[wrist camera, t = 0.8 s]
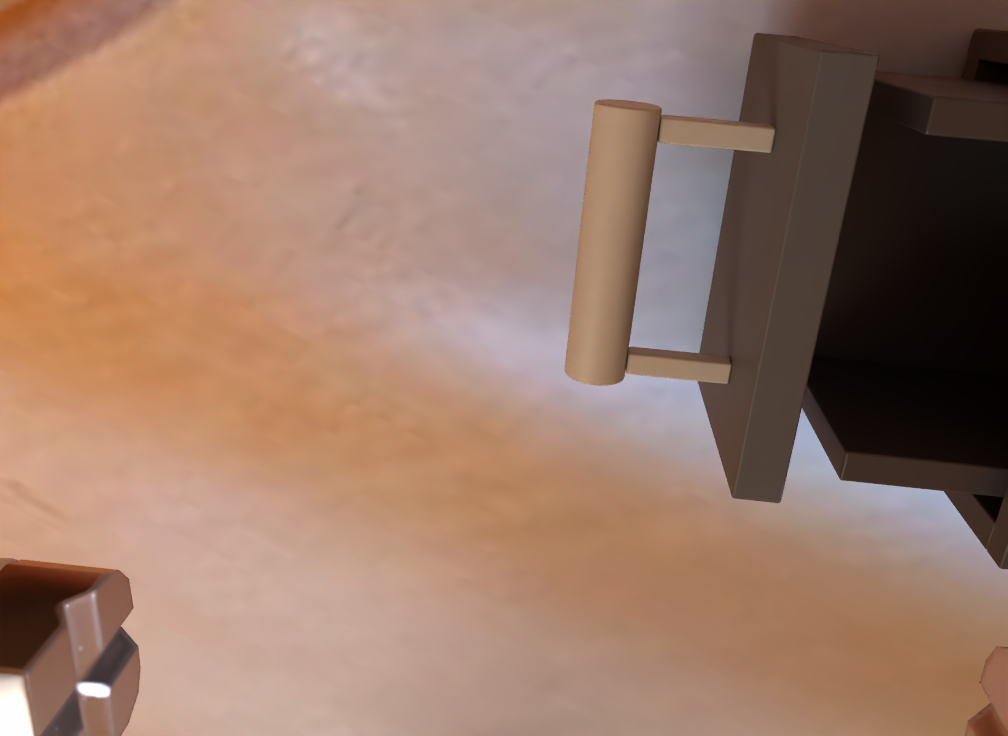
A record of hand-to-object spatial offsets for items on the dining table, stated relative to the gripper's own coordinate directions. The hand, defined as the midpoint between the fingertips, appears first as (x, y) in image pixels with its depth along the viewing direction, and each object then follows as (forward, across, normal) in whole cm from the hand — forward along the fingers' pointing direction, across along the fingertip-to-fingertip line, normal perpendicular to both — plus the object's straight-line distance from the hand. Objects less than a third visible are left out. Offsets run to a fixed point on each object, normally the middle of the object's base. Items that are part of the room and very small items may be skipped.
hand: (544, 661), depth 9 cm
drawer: (+21, -9, 0) cm, 23 cm away
